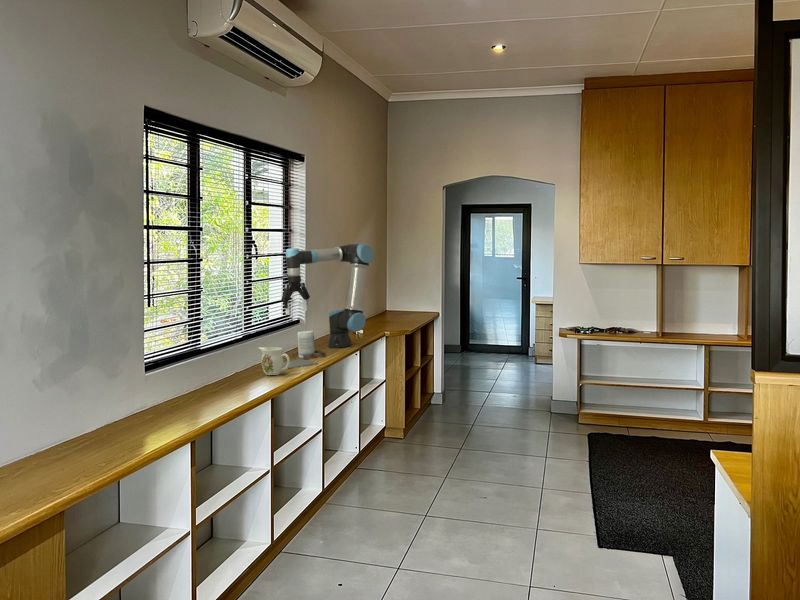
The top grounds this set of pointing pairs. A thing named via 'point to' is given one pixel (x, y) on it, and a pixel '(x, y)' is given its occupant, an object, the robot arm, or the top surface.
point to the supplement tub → (306, 343)
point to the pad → (299, 363)
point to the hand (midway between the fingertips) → (296, 312)
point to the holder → (310, 355)
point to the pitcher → (273, 360)
